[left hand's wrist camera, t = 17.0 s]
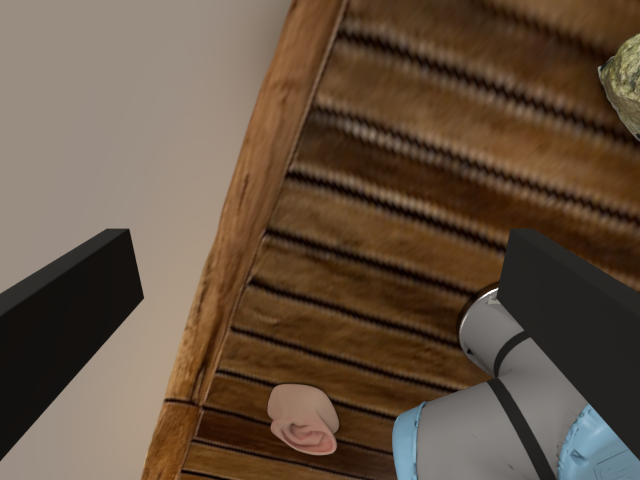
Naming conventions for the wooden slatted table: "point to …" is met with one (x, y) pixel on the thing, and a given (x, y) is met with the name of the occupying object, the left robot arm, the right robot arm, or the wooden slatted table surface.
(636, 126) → the fossil
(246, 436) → the wooden slatted table surface
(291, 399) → the anatomical model
